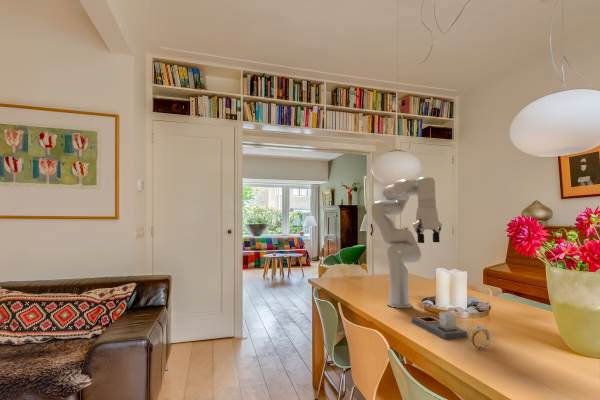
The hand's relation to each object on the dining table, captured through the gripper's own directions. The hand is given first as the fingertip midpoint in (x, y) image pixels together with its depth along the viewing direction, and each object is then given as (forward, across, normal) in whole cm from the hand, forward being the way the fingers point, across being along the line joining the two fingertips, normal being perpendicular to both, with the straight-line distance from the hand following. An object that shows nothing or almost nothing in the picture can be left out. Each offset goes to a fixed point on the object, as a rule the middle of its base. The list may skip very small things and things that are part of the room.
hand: (428, 242), depth 150 cm
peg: (+35, +8, +14) cm, 39 cm away
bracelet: (+36, +11, +30) cm, 48 cm away
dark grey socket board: (+35, +6, +8) cm, 36 cm away
